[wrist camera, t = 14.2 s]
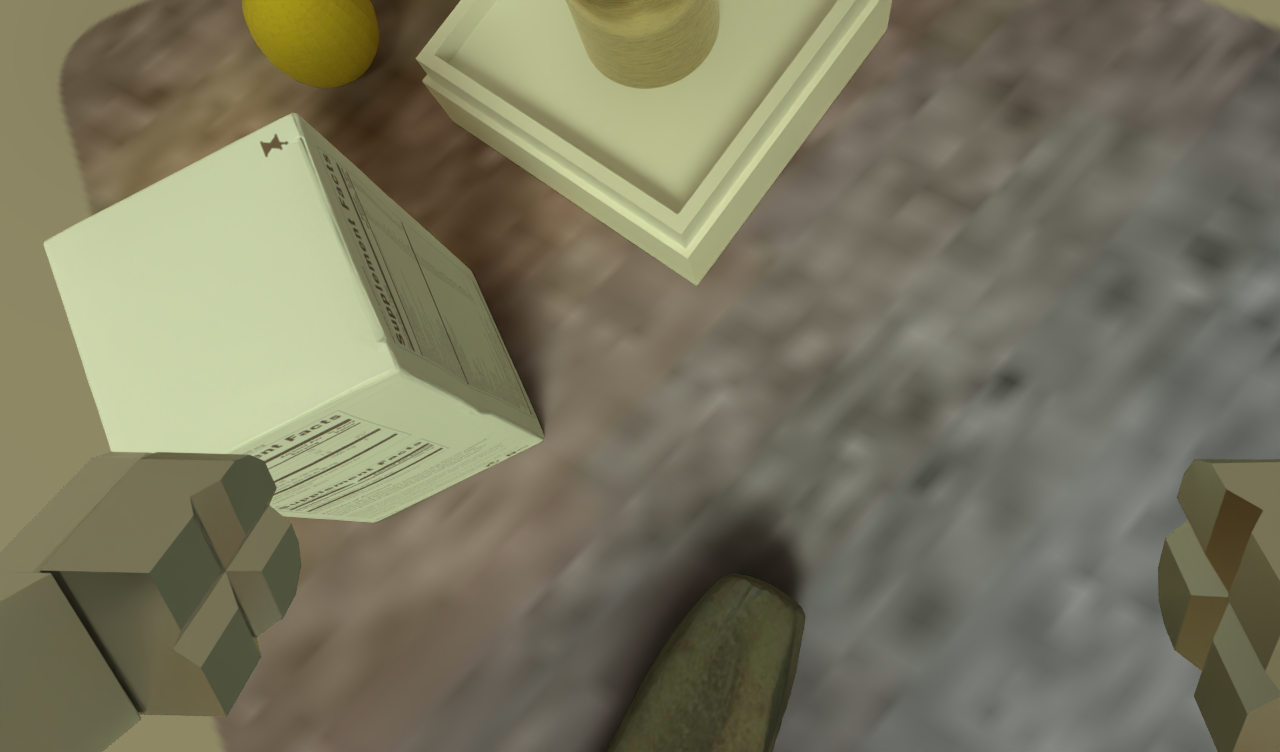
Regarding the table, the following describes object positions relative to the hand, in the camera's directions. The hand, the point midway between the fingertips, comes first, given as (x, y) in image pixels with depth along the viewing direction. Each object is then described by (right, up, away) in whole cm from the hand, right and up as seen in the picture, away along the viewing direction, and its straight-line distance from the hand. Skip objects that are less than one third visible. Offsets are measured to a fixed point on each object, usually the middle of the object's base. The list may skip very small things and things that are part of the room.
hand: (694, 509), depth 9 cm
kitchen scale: (+1, +16, +37) cm, 40 cm away
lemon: (-15, +17, +40) cm, 46 cm away
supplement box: (-11, 0, +36) cm, 37 cm away
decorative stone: (+1, -15, +31) cm, 35 cm away
